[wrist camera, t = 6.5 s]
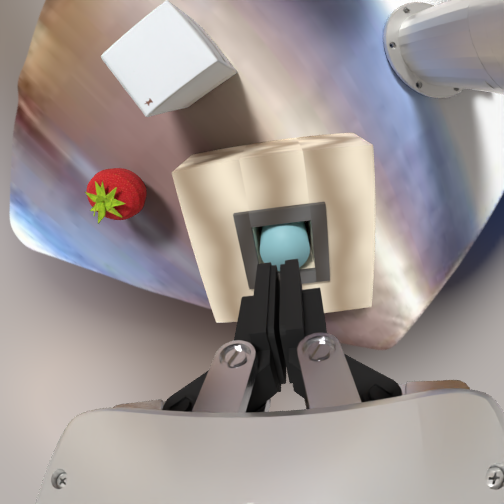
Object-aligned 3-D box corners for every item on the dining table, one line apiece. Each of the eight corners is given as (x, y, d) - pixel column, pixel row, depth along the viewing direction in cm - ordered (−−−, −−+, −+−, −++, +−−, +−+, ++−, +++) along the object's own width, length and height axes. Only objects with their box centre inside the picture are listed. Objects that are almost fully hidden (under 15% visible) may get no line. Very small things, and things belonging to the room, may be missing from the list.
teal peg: (301, 199, 35) (307, 225, 29) (306, 237, 37) (311, 268, 31) (259, 204, 36) (255, 231, 30) (265, 242, 38) (263, 274, 32)
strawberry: (157, 206, 39) (126, 243, 30) (108, 194, 38) (68, 226, 29) (164, 164, 36) (130, 190, 27) (111, 153, 35) (68, 176, 26)
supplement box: (239, 72, 30) (221, 62, 19) (187, 109, 32) (144, 121, 21) (203, 25, 27) (167, -3, 16) (152, 63, 29) (97, 57, 18)
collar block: (352, 132, 32) (374, 146, 25) (357, 270, 41) (372, 309, 34) (192, 154, 35) (169, 174, 27) (225, 284, 44) (215, 326, 37)
